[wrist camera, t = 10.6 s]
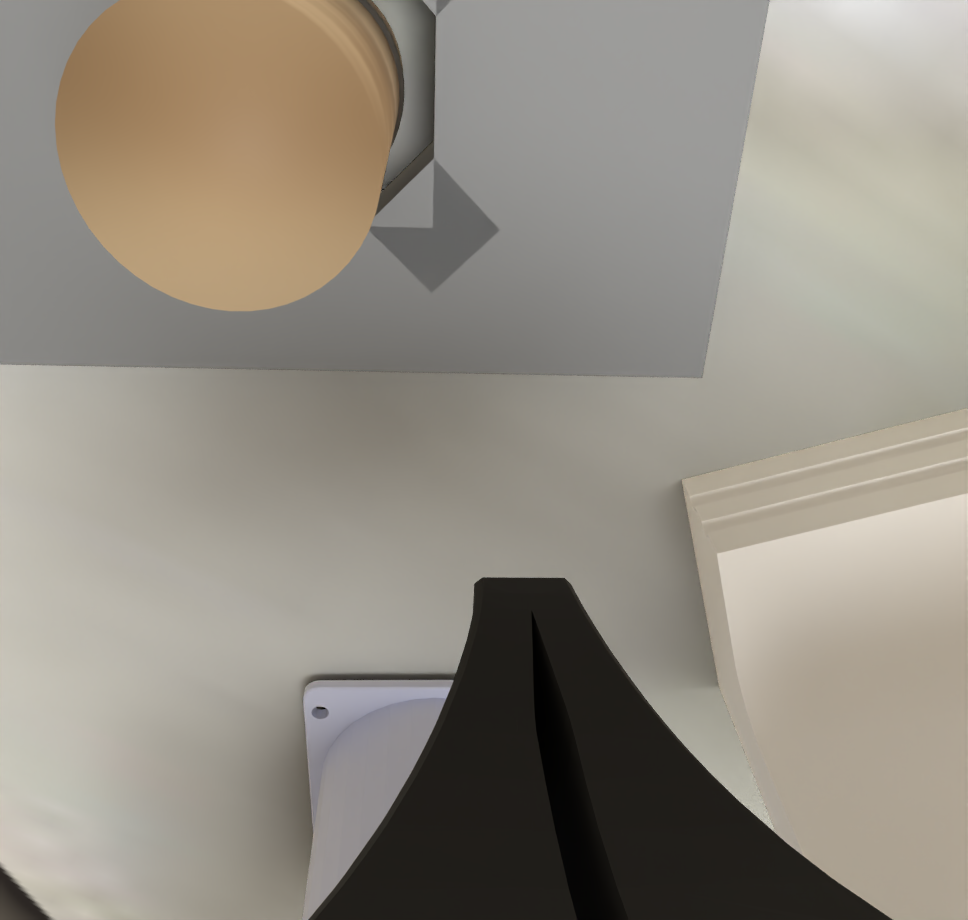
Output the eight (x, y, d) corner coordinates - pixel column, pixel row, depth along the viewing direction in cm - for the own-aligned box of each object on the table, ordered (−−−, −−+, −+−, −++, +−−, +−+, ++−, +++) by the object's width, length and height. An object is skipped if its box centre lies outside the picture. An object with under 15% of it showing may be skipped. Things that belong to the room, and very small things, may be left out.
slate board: (680, 345, 22) (702, 377, 21) (-61, 328, 21) (-104, 362, 20) (779, -257, 17) (819, -283, 15) (-238, -326, 15) (-323, -361, 14)
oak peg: (402, 182, 20) (383, 326, 12) (215, 168, 20) (73, 307, 12) (410, -27, 18) (395, -13, 10) (202, -47, 18) (21, -47, 10)
